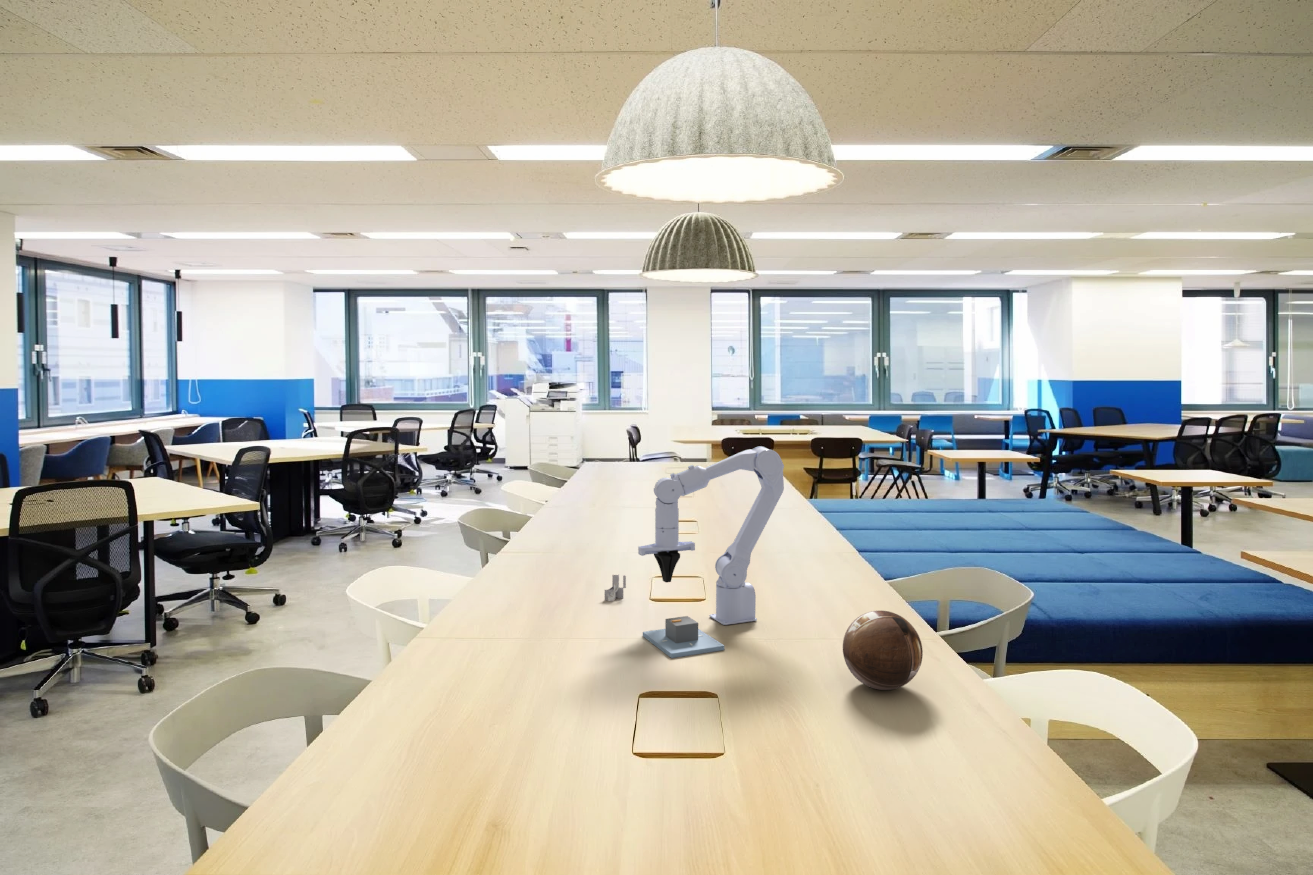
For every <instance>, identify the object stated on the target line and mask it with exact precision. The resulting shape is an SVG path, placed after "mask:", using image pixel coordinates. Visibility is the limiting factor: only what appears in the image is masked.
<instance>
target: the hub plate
mask: <svg viewBox="0 0 1313 875" xmlns="http://www.w3.org/2000/svg"><path fill="white" fill-rule="evenodd" d="M642 637H643V638H644V639H646V640H647V641H648V642H650V643H651V644H653V646H655V647H656V648H658V649H659V651H661V652H663V653H664V654H665V655H667V656H668V657H669V658H671V659H674V658H681V657H688V656H694V655H699V654H701V655H702V654H706V653H714V652H721V651H725V645H724V644H723V643H721V642H720V641H718V640H716V639H715V638H714V637H712V636H710V634H708V633H706V632H705V631H702V630H701V629H700V628H698V640H695V641H689V642H682V643H675V642H673V641H672V640H670V639H669V638H668V637H666V636H665V628H661V629H653V630H647V631H642Z"/></svg>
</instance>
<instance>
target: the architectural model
mask: <svg viewBox="0 0 1313 875" xmlns="http://www.w3.org/2000/svg"><path fill="white" fill-rule="evenodd" d="M622 576H623V577H622V579H623V580H622V582H623V583H622V584H623V585H622V587H621V586H620V574H612V585H611V587H610V588H608V589H604V601H608V602H613V601H615V600H616V598H617V599H624V589H626V588H627V576H626V575H625V574H623V575H622Z"/></svg>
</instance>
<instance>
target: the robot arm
mask: <svg viewBox="0 0 1313 875" xmlns="http://www.w3.org/2000/svg"><path fill="white" fill-rule="evenodd" d="M687 468H688V469H685V470H683V471H680V472H677V473H674V472H672V473H670V477H667V476H666V477H665V476H664V477H661V478H659V479H658V480H657V481H656V482H655V485H654V487H653V492H654V495H655V496H656V497H655V508H654V512H655V513H654V516H655V518H654V520H655V521H654V522H655V525H654V526H655V527H654V528H655V530H654V531H655V533H654V536H655V537H654V538H655V539H654V542H655V543H651V544H645V545H640V546H639V545H638V546H637V548H638V549H637V550H638V552H637V553H638V555H639V556H642V557H643V556H647V555H653V556H654V558H655V560H656V562H657V565H658V566H659V570H660V574H661V578H662V581H663V582H664V583H672V580H673V579H672V578H673V574H674V571H675V568H676V566H677V564H678V562H679V560H680V558H681V553H679V552H685V551H690V552H693V551H695V550H696V542H693V541H680V540H679V539H680V538H679V530H680V529H679V523H680V522H679V511H680V510H679V500H680V498H681V496H682V497H685V496H687V495H689V494H692V493H695V492H698V491H700V490H703V489H704V488H706V487H707V486H708V485H709V482H710V481H711V480H714V479H716V478H719V477H723V476H725V475H728V474H732V473H734V472H736V471H739V470H742V471H747V472H754V473H755V475H756V476H757V478H758V481H759V482H758V483H759V484H760V486H761V488H760V490H759V492H758V494H757V496H756V498H755V500H754V502H753V504H752V506H751V507H750V510H749V512H748V513H747V515H746V517H745V519H744V521H743V523H742V525H741V527H740V528H739V531H738V532H737V534H736V536H735V538H734V541H733V542H732V543H731V544H730V545H729V546H728V547H727V548H726V549H725V551H724V553H723V554H722V555H720V556H719V557H718V558H717V559H716V561H715V565H714V566H715V567H714V569H715V572H716V573H717V575H718V578H717V580H716V582H715V583H716V585H715V613H712V614H710V613H709V618H711V619H712V620H714V621H716V622H717V623H720V624H721V625H723V626H728V625H735V624H742V623H748V622H750V623H751V622H756V621H757V620H758V619H757V618H756V598H757V597H756V591H755V587H754V586H753V584H752V583H750V582H746V580H747V576H748V574H747V573H748V568H749V566H750V564H751V555H752V553H753V550H754V548H755V547H756V544H757V543H758V541H759V539H760V537H761V535H762V533H763V531H764V529H765V527H766V525H767V523H768V521H769V520H770V518H771V516H772V514H773V512H774V510H775V508H776V506H777V504H778V502H779V500H780V498H781V496H782V495H783V494H784V489H785V486H784V469H785V464H784V463H783V460H782V458H781V456H780V454H779V453H778V452H777V451H775V450H773V449H769V448H767V447H765V446H762V445H761V446H756V447H754V448H752V449H750V448H749V449H745V450H742V451H740V452H737V453H736V454H732V455H731V456H728V457H726V458H724V459H722V460H720V461H718V462H715V463H712V464H711V465H709V466H706V467H703V466H702V465H701V466H700V465H693V464H690V465H688V466H687Z"/></svg>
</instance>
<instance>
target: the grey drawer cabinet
mask: <svg viewBox="0 0 1313 875" xmlns="http://www.w3.org/2000/svg"><path fill="white" fill-rule="evenodd" d="M664 622H665V623H664V624H665V628H664V629H665V636H666V637H668V638H669V639H670V640H672V641H673V642H675V643H682V642H689V641H695V640H698V629H699V621H696V620H694V619H693V618H691V617H690V616H688V615H685V616H677V617H670V618H665V621H664Z"/></svg>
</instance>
